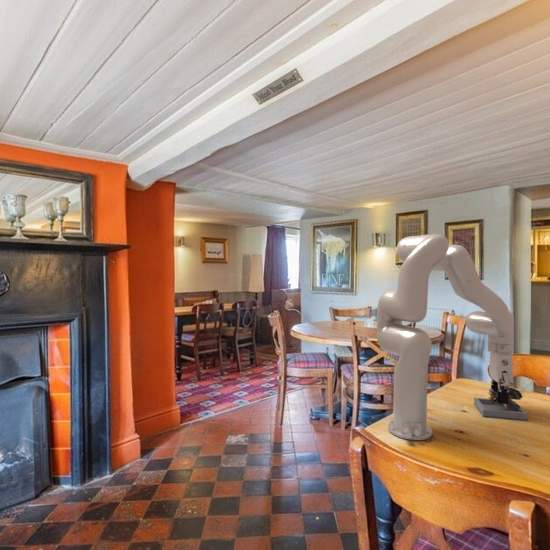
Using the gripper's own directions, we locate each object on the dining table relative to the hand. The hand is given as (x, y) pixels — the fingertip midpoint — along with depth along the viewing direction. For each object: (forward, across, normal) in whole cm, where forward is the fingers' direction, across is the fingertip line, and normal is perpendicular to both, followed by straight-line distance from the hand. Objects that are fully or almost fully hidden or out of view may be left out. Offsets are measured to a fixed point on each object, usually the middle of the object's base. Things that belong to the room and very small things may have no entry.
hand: (499, 399), depth 130 cm
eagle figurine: (+2, 0, -2) cm, 3 cm away
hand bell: (+5, +24, -9) cm, 26 cm away
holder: (+4, 0, 0) cm, 4 cm away
